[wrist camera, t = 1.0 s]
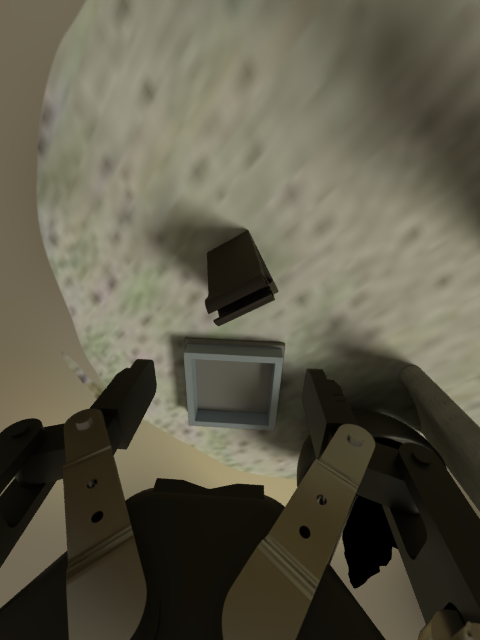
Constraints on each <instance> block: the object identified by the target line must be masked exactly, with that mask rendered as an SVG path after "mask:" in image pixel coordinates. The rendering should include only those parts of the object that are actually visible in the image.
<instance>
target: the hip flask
mask: <svg viewBox="0 0 480 640" xmlns="http://www.w3.org/2000/svg"><path fill="white" fill-rule="evenodd" d="M399 377H400V379H401V380H402V382H403V383H404V384H405V386H406V387H407V389H408V390H409V392H410V394H411V396H412V398H413V400H414V403H415V405H416V408H417V411H418V415H419V420H420V430H421V432H422V433H423V435H424V436H425V438H426V439H427V440H428V442H429V443H430V444H431V445H432V446H433V447H434V448H435V449H436V450H437V451H438V453H439V454H440V455H441V457H442V458H443V460H444V462H445V465H446V466H447V468H448V469H449V470H450V472H451V473H452V474H453V476H454V477H455V478H456V480H457V481H458V482H459V484H460V485H461V487H462V488H463V489H464V491H465V492H466V493H467V495H468V496H469V498H470V499H471V500H472V502H473V503H474V504H475V506H476V507H477V509H478V510H479V511H480V427H479V426H478V425H477V424H476V423H475V422H474V421H473V420H472V419H471V418H470V417H469V416H468V415H467V414H466V413H465V412H464V411H463V410H462V409H461V408H460V407H459V406H458V405H457V404H456V403H455V402H454V401H453V400H452V399H451V398H450V397H449V396H448V395H447V394H446V393H445V392H444V391H443V390H442V389H441V388H440V387H439V386H438V385H437V384H436V383H435V382H434V381H432V380H431V379H430V378H429V377H428V376H427V375H426V374H425V373H424V372H423V371H422V370H421V369H420V368H419V367H418V366H415V365H410V366H407V367H405V368H403V369H402V370H401V372H400V375H399Z"/></svg>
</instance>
